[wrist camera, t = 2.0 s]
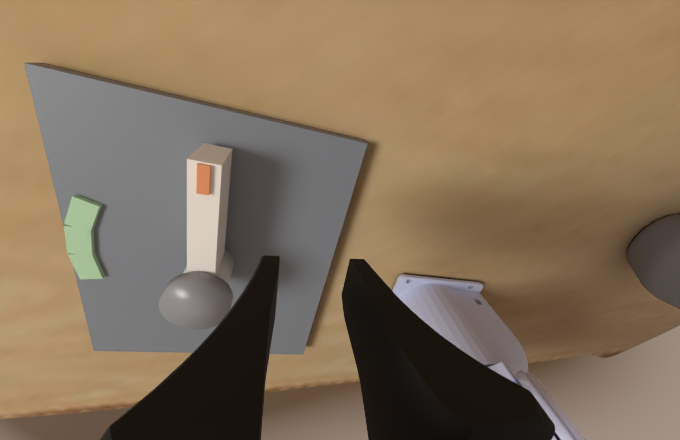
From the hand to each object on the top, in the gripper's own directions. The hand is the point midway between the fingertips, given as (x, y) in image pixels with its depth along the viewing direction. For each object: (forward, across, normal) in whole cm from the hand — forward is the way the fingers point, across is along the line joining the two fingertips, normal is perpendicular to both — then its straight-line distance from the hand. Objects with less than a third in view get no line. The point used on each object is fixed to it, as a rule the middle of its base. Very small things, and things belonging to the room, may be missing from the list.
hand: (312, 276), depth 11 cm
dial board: (+10, +6, +6) cm, 13 cm away
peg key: (+9, +6, +3) cm, 11 cm away
